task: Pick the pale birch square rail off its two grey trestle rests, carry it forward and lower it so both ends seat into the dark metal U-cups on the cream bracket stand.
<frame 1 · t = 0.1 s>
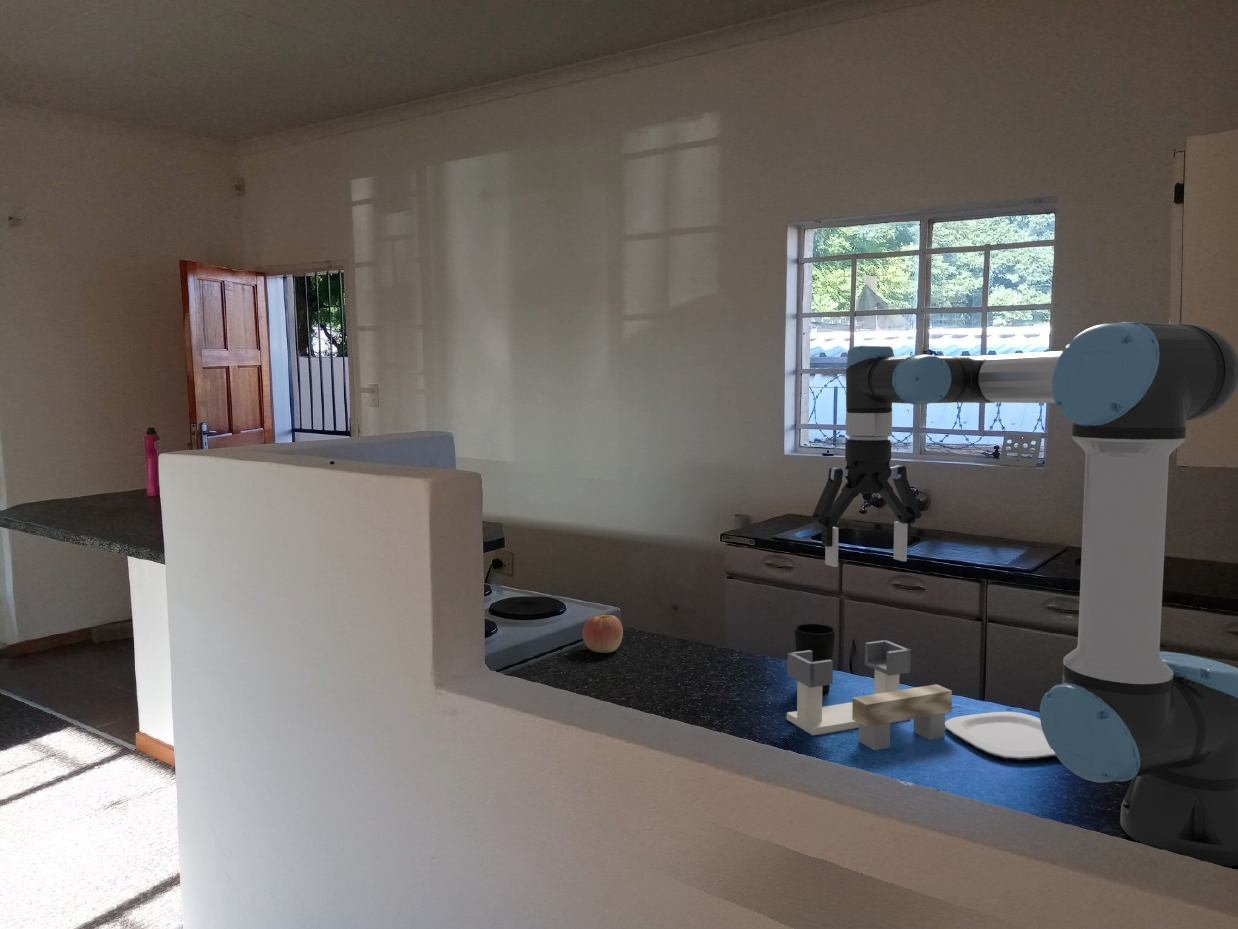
hand: (866, 562, 153), 28 cm above the countertop, fingers open, 13 cm apart
rail: (902, 715, 147), point 4 cm above the countertop, touching rests
apple: (603, 652, 199), on the countertop
bracket stand: (848, 719, 157), on the countertop
cup: (814, 691, 172), on the countertop
plate: (1012, 743, 147), on the countertop
rests: (901, 739, 148), on the countertop
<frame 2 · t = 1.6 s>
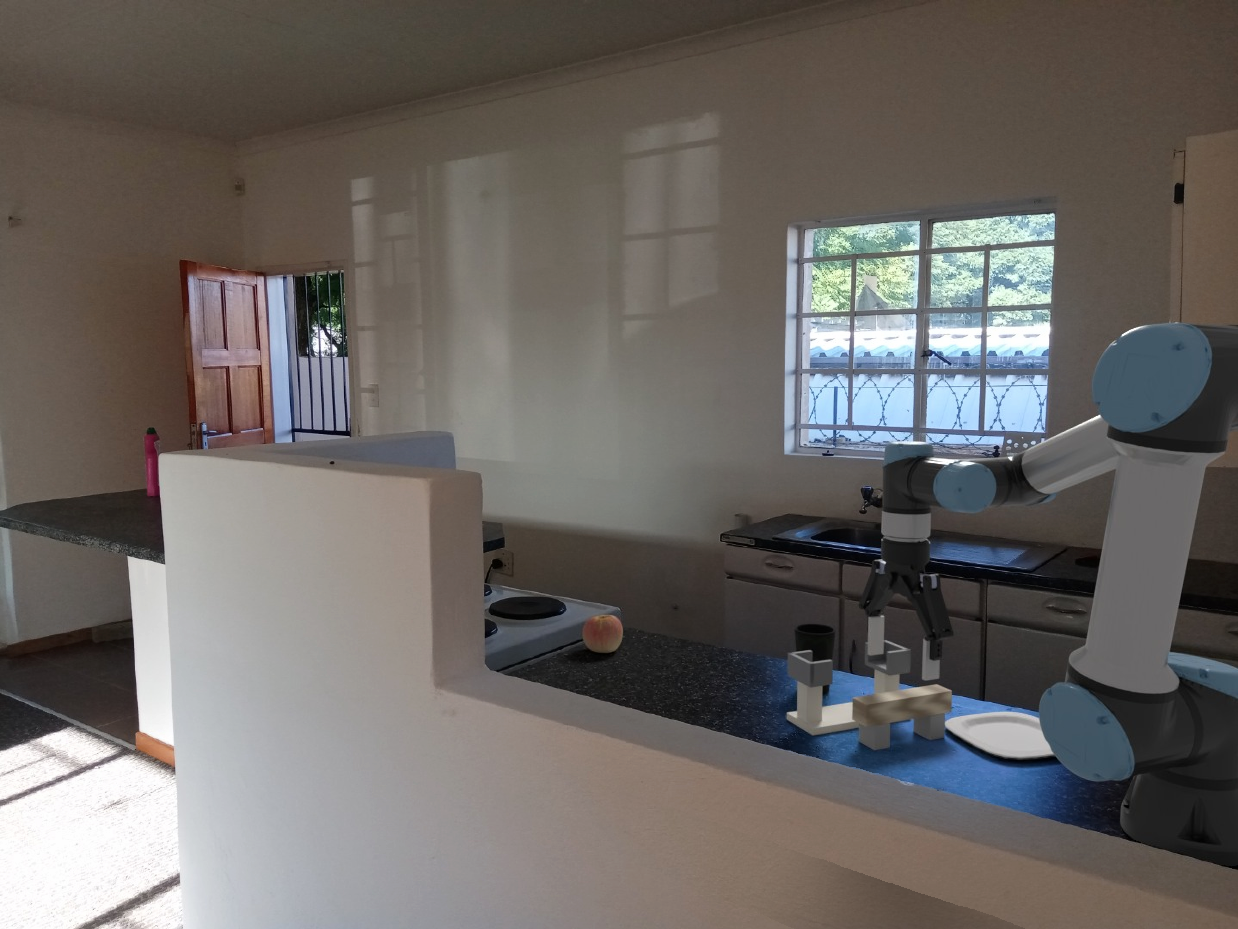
hand: (901, 666, 147), 12 cm above the countertop, fingers open, 13 cm apart
nothing on the countertop moved.
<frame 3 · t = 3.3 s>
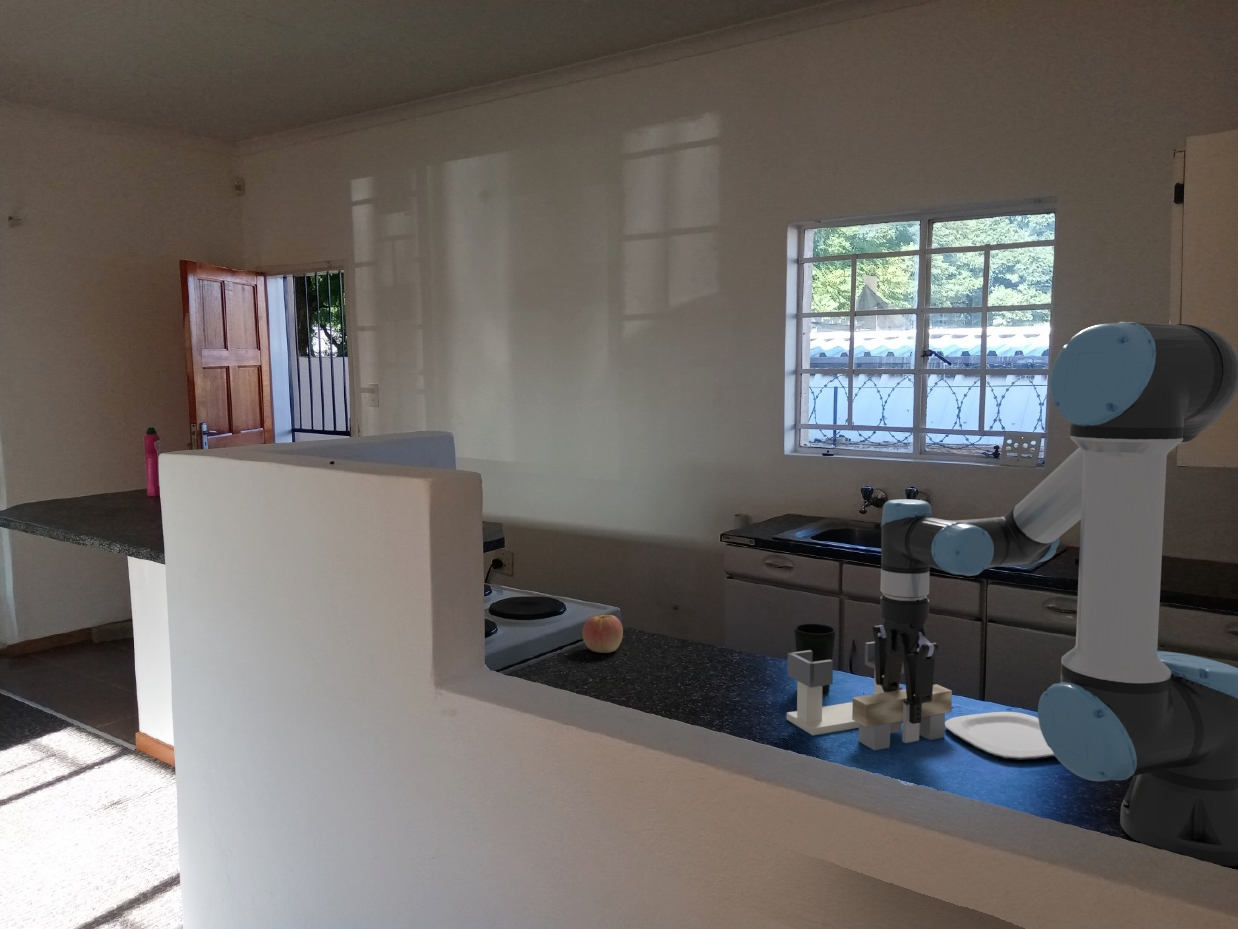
hand: (901, 735, 148), 1 cm above the countertop, fingers closed on rail, 4 cm apart
rail: (902, 715, 147), point 4 cm above the countertop, touching gripper, rests
everything else where it was.
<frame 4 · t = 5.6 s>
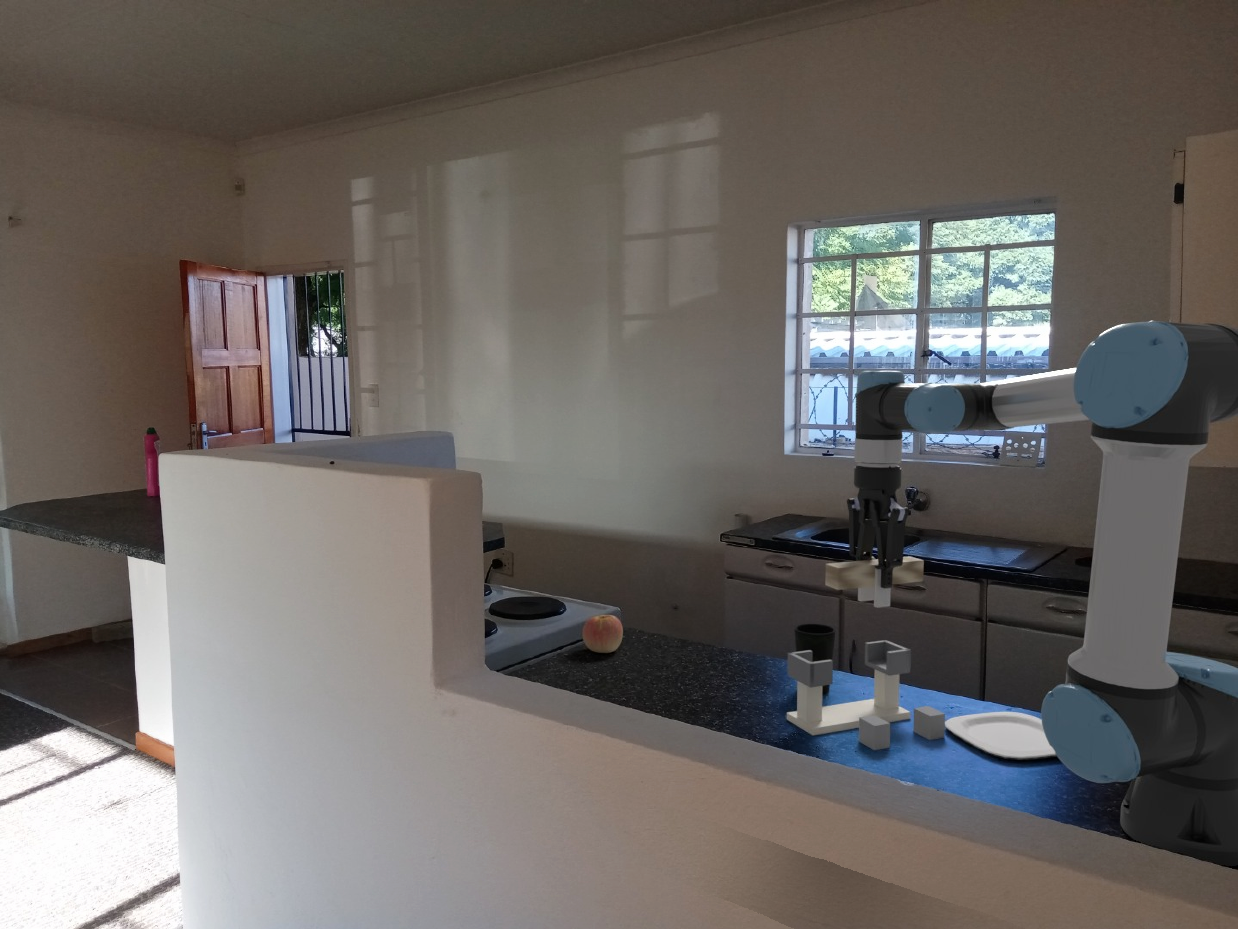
hand: (873, 603, 151), 21 cm above the countertop, fingers closed on rail, 4 cm apart
rail: (874, 583, 151), point 25 cm above the countertop, touching gripper
everything else where it was.
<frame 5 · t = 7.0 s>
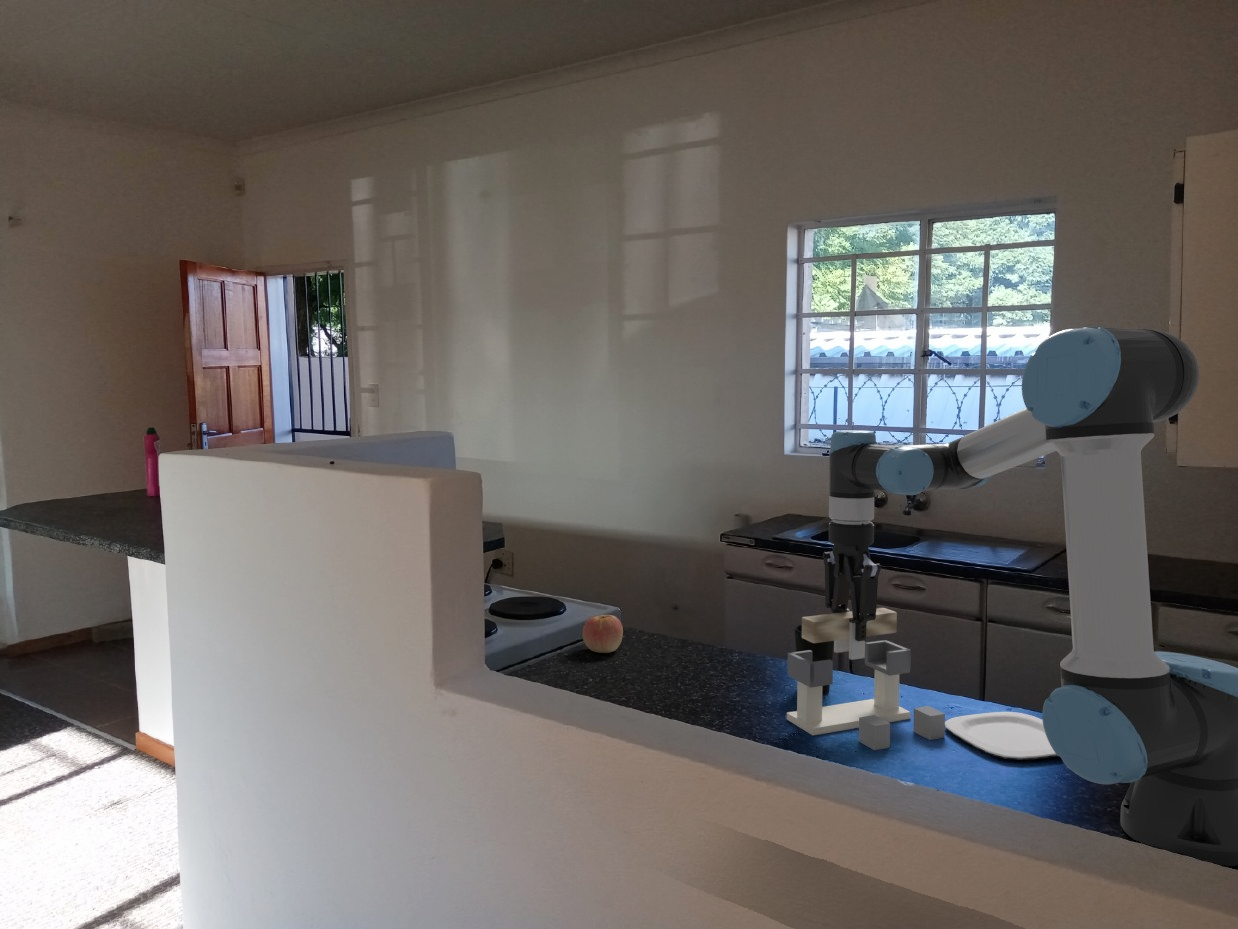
hand: (849, 654, 156), 11 cm above the countertop, fingers closed on rail, 4 cm apart
rail: (849, 635, 156), point 15 cm above the countertop, touching gripper
everything else where it was.
when the fingers open (7 cm above the countertop, at t = 8.2 s): rail drops 1 cm, resting on bracket stand.
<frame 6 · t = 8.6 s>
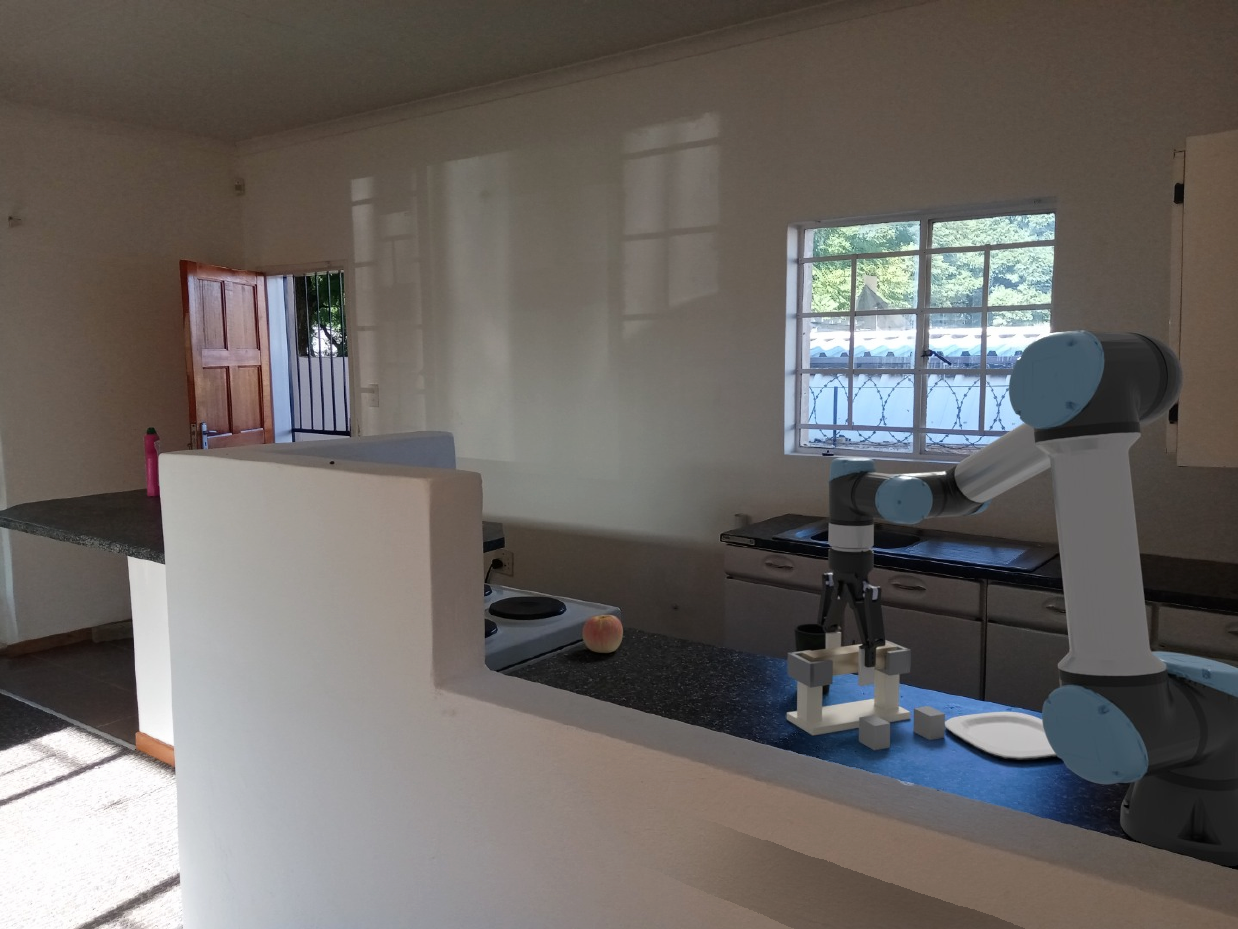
hand: (849, 676, 156), 8 cm above the countertop, fingers open, 9 cm apart
rail: (849, 669, 156), point 9 cm above the countertop, touching bracket stand
everything else where it was.
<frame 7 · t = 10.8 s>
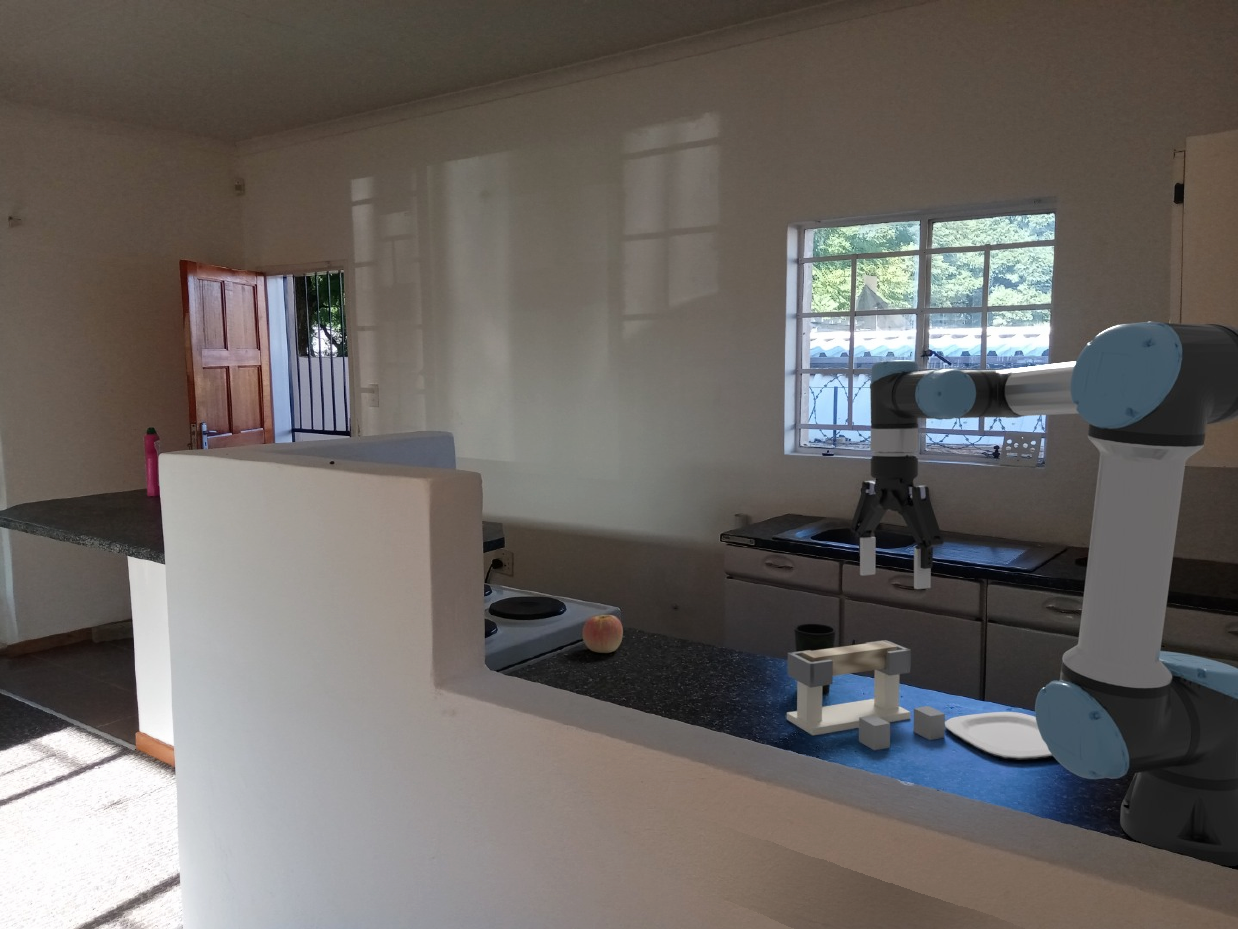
hand: (893, 581, 151), 25 cm above the countertop, fingers open, 13 cm apart
nothing on the countertop moved.
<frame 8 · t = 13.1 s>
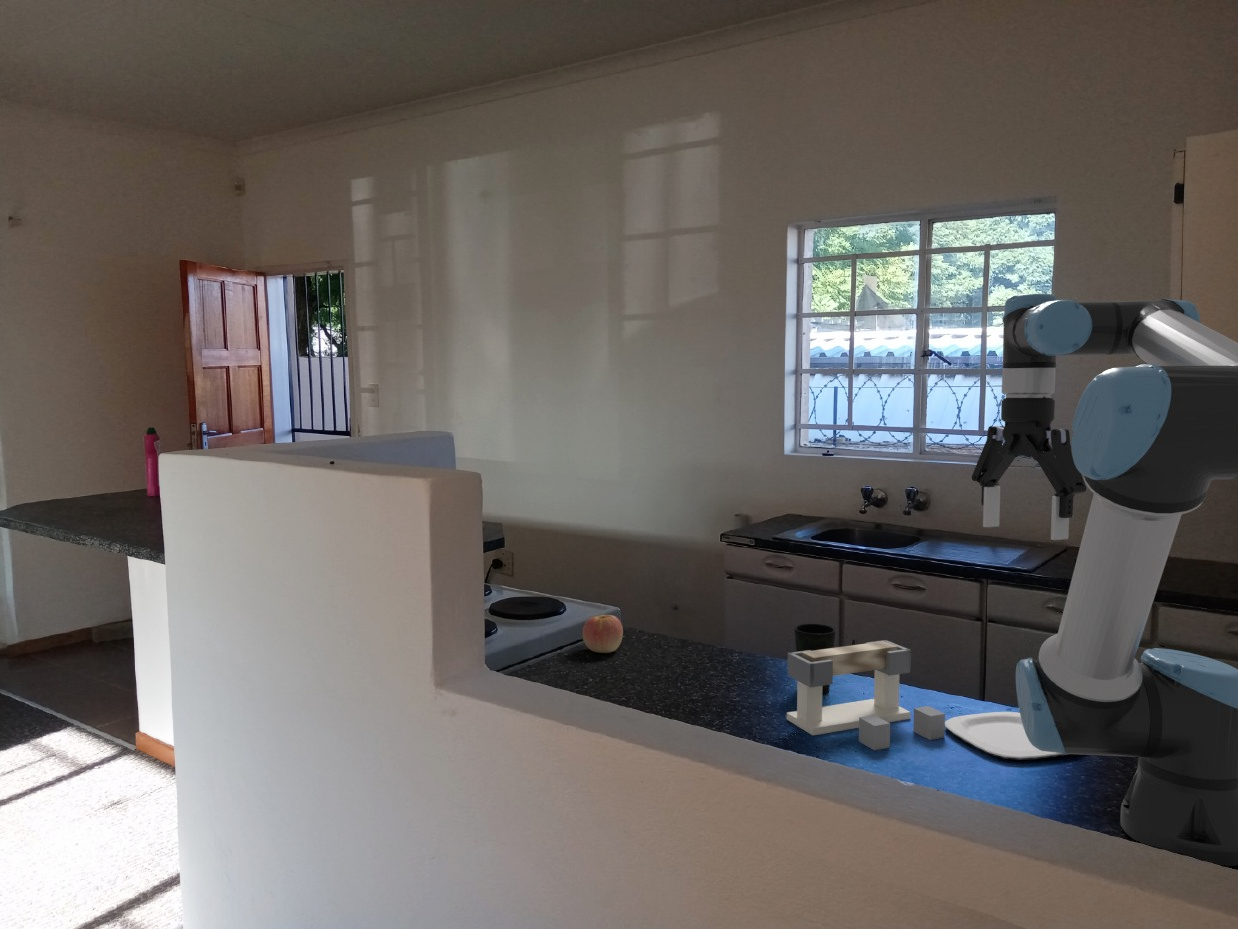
hand: (1023, 532, 141), 35 cm above the countertop, fingers open, 13 cm apart
nothing on the countertop moved.
at the end: rail 0.0 cm off-centre on the bracket stand, point 8.8 cm above the bracket stand's base; rail tilted 0°; the gripper is holding nothing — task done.
